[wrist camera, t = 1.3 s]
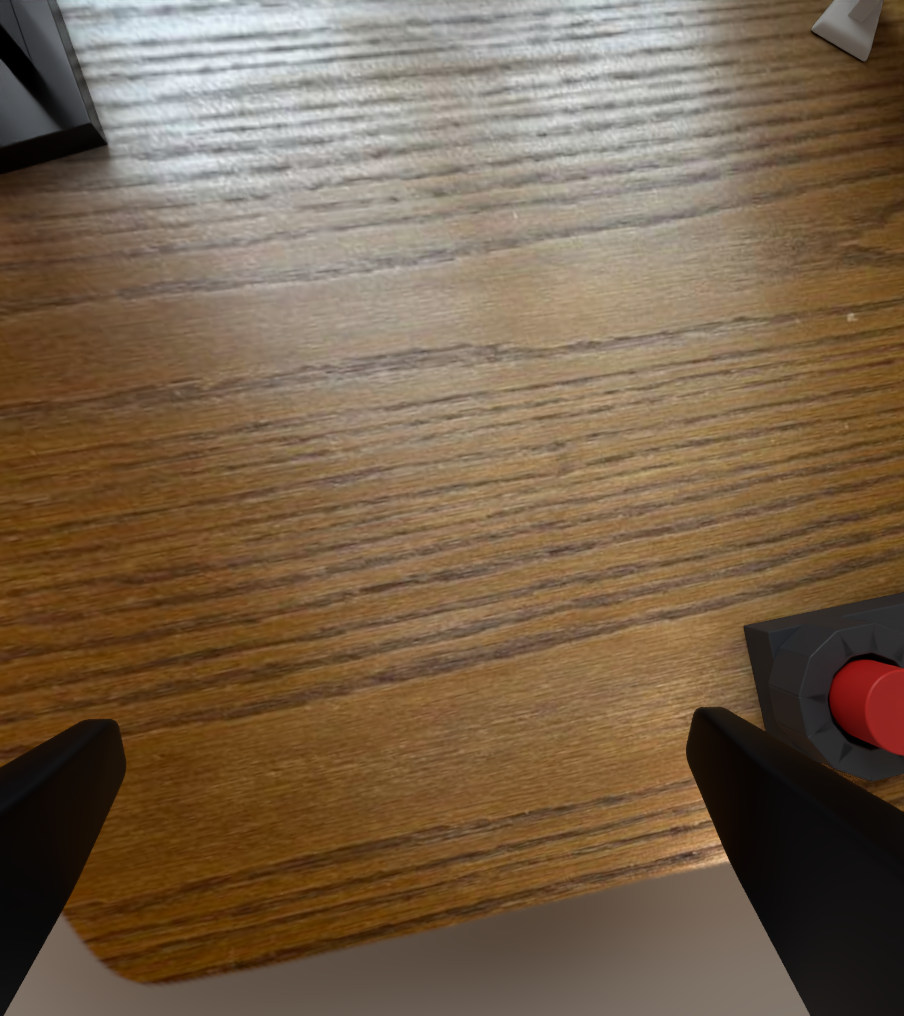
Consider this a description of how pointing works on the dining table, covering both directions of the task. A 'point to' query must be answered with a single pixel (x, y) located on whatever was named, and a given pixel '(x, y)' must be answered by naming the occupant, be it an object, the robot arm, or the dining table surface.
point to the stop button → (870, 703)
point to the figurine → (850, 25)
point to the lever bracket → (41, 88)
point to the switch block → (825, 678)
